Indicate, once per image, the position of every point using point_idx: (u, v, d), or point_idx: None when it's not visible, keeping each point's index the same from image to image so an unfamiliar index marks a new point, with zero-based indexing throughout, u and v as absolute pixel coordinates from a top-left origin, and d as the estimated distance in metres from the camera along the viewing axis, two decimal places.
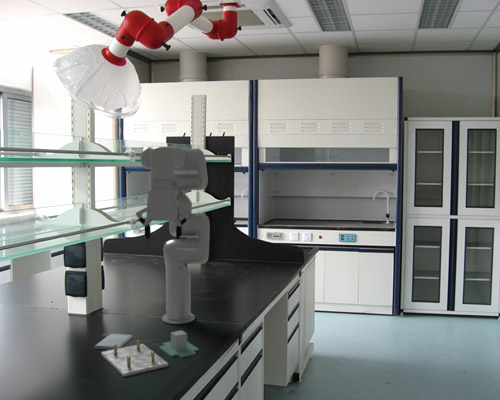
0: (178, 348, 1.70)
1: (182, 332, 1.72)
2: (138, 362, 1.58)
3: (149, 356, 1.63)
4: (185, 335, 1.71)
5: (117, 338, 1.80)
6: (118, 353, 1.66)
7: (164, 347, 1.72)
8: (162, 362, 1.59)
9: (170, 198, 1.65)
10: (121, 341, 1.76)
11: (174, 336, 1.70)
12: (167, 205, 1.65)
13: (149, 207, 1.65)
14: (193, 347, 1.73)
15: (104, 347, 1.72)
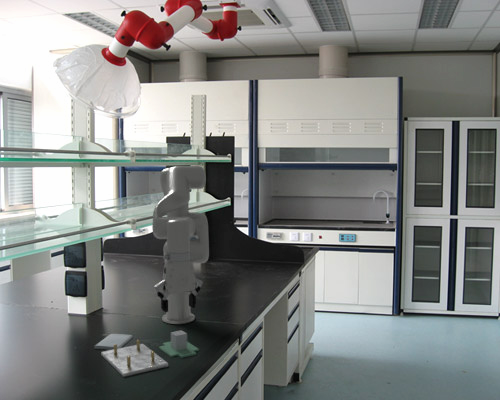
0: (178, 348, 1.70)
1: (182, 332, 1.72)
2: (138, 362, 1.58)
3: (149, 356, 1.63)
4: (185, 335, 1.71)
5: (117, 338, 1.80)
6: (118, 353, 1.66)
7: (164, 347, 1.72)
8: (162, 362, 1.59)
9: None
10: (121, 341, 1.76)
11: (174, 336, 1.70)
12: None
13: None
14: (193, 347, 1.73)
15: (104, 347, 1.72)
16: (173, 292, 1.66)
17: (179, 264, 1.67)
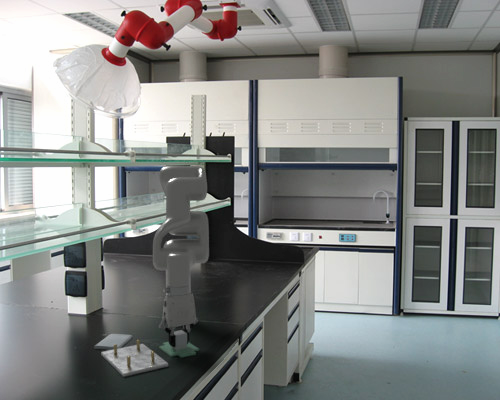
0: (178, 348, 1.70)
1: (182, 332, 1.72)
2: (138, 362, 1.58)
3: (149, 356, 1.63)
4: (185, 335, 1.71)
5: (117, 338, 1.80)
6: (118, 353, 1.66)
7: (164, 347, 1.72)
8: (162, 362, 1.59)
9: None
10: (121, 341, 1.76)
11: None
12: None
13: None
14: (193, 347, 1.72)
15: (104, 347, 1.72)
16: (173, 325, 1.67)
17: (179, 298, 1.68)
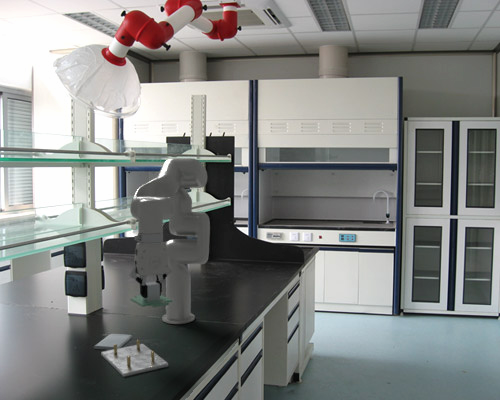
0: (150, 299, 1.62)
1: (155, 283, 1.64)
2: (138, 362, 1.58)
3: (149, 356, 1.63)
4: (158, 285, 1.63)
5: (116, 338, 1.80)
6: (118, 353, 1.66)
7: (136, 299, 1.64)
8: (162, 362, 1.59)
9: None
10: (121, 341, 1.76)
11: None
12: None
13: None
14: (166, 298, 1.65)
15: (104, 347, 1.72)
16: (145, 274, 1.60)
17: (151, 245, 1.60)
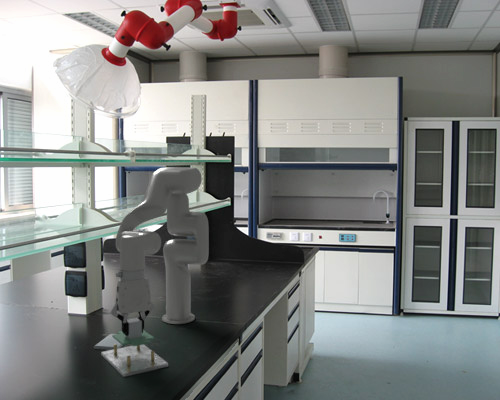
0: (132, 336, 1.59)
1: (137, 320, 1.61)
2: (138, 362, 1.58)
3: (149, 356, 1.63)
4: (139, 323, 1.60)
5: None
6: (118, 353, 1.66)
7: (117, 335, 1.62)
8: (162, 362, 1.59)
9: None
10: None
11: None
12: None
13: None
14: (148, 336, 1.62)
15: (104, 347, 1.72)
16: (126, 312, 1.57)
17: (133, 282, 1.58)
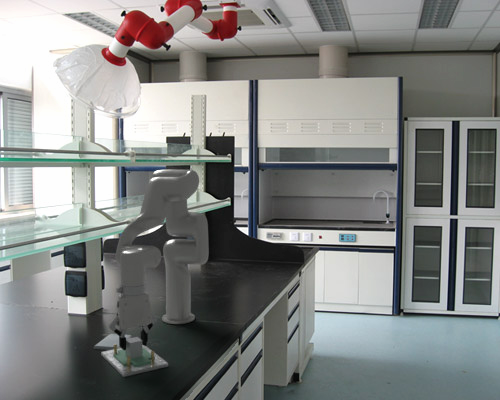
0: (132, 356, 1.60)
1: (137, 339, 1.62)
2: None
3: None
4: (140, 342, 1.61)
5: (116, 338, 1.80)
6: None
7: (118, 355, 1.62)
8: (162, 362, 1.59)
9: None
10: None
11: (128, 343, 1.60)
12: None
13: None
14: (149, 355, 1.63)
15: (104, 347, 1.72)
16: (126, 327, 1.58)
17: (133, 298, 1.58)
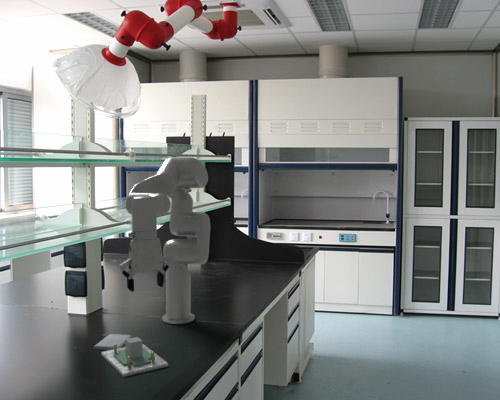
0: (132, 356, 1.60)
1: (137, 339, 1.62)
2: None
3: None
4: (140, 342, 1.61)
5: (116, 338, 1.80)
6: None
7: (118, 355, 1.62)
8: (162, 362, 1.59)
9: None
10: (120, 341, 1.76)
11: (128, 343, 1.60)
12: None
13: None
14: (149, 355, 1.63)
15: (103, 347, 1.72)
16: (139, 271, 1.61)
17: (145, 242, 1.61)
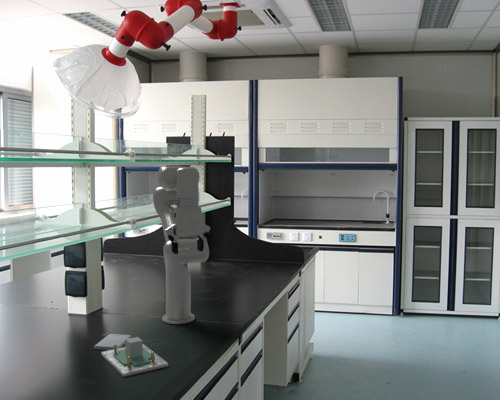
0: (132, 356, 1.60)
1: (137, 339, 1.62)
2: None
3: None
4: (140, 342, 1.61)
5: (116, 338, 1.80)
6: None
7: (118, 355, 1.62)
8: (162, 362, 1.59)
9: None
10: (120, 341, 1.76)
11: (128, 343, 1.60)
12: None
13: None
14: (149, 355, 1.63)
15: (103, 347, 1.72)
16: (183, 235, 1.77)
17: (188, 209, 1.78)
